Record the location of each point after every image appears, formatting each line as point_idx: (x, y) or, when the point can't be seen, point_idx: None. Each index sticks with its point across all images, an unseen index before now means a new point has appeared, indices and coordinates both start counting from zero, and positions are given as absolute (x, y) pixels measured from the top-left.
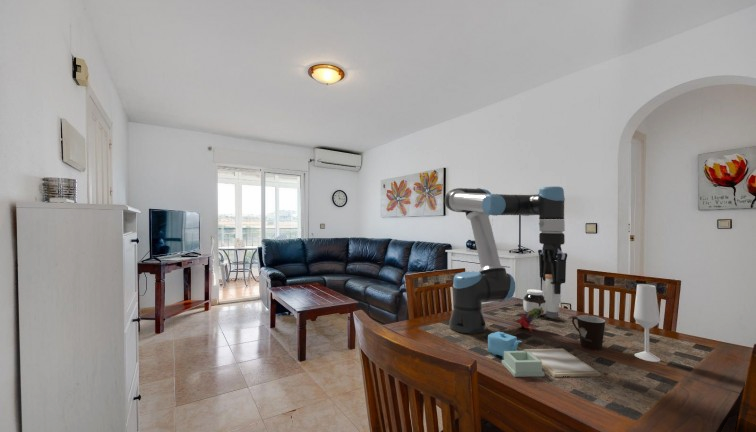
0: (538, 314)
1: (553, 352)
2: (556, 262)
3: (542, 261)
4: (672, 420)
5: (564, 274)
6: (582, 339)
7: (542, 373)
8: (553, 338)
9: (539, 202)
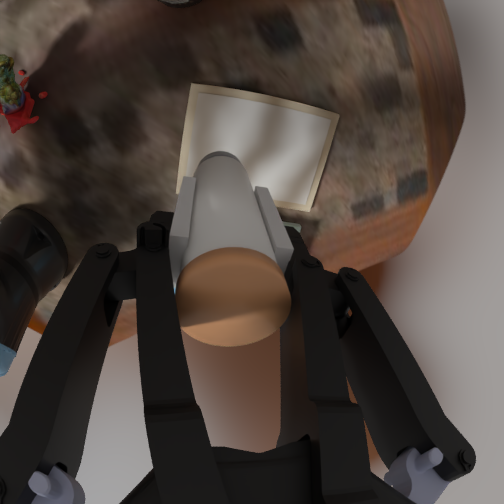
0: (11, 68)
1: (213, 132)
2: (371, 435)
3: (87, 410)
4: (446, 149)
5: (383, 322)
6: (177, 4)
7: (299, 230)
8: (101, 52)
9: None
